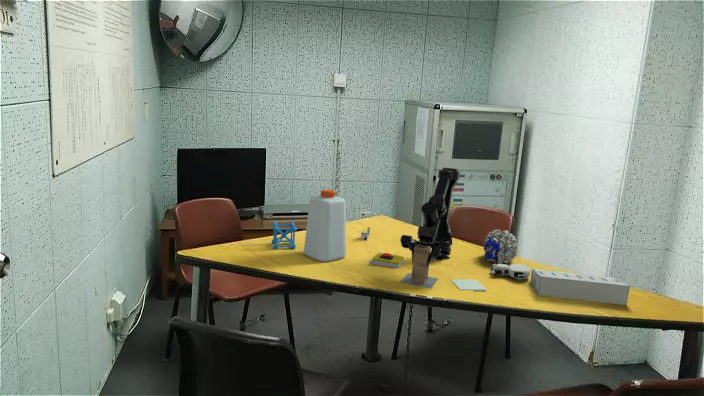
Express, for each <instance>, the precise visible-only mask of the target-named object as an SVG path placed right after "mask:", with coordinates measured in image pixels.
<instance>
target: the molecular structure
mask: <svg viewBox="0 0 704 396" xmlns="http://www.w3.org/2000/svg"><path fill="white" fill-rule="evenodd" d="M271 226H272V227H273V238H272V240H271V243H272V244H273V245H272V248H273V249H274V250H277V249H279V248H290V249H293V250H294V249H296V248H297V244H296V243H295V241H296V240H295V238H296V237H295V236H296V233H295V232H297V229H298V228H297V227H296V224H295V222H290V223H278V222H276V221H273V223H272V224H271ZM279 226H280V227H281V226H287V227H288V228H285V227H284V228H282V227H281V228H279ZM283 231H285V232H283ZM278 233H279V234H281V235H280V236H279V237H278ZM288 234H290V238H289V237H288V236H287V235H288ZM284 239H286V240H284ZM280 243H289V245H285V244H284V245H279V244H280Z"/></svg>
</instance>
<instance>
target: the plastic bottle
mask: <svg viewBox="0 0 704 396" xmlns="http://www.w3.org/2000/svg"><path fill="white" fill-rule="evenodd" d="M346 209H347V207H346V200H345V199H344V198H343V197H340V196H336V191H335V190H333V189H321V190H320V195H319V194H318V195H313V196H311V197H310V198H309V204H308V212H307V221H306V229H305V237H304V238H305V239H304V247H303V253H304V255H305V256H306V257H309V258H311V259H313V260H315V261H318V262H323V263H324V262H325V263H327V262H332V261H336V260H341V259H344V258H345V257H346V256H347V229H346V228H347V226H346V225H347V224H346V223H347V220H346Z"/></svg>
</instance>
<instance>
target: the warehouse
mask: <svg viewBox="0 0 704 396" xmlns="http://www.w3.org/2000/svg"><path fill="white" fill-rule="evenodd" d="M530 283H531V286H533V288H534V290H535V292H536V294H537V296H541V295H545V296H544V297H550V296H553V297H552V298H559V297H560V298H561V299H567V298H568V299H569V300H576V299H577V300H578V301H586V302H596V303H604V304H611V305H612V304H613V305H621V306H627V304H628V299H629V295H630V294H629V292H630V287H631V285H629V284H626V283H625V282H623V281H621V280H620V279H618V278H616V277H615V276H614V277H613V276H604V275H594V274H586V273H585V274H584V273H576V272H575V273H574V272H566V271H559V270H558V271H556V270H547V269H536V268H531V272H530Z"/></svg>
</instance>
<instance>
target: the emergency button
mask: <svg viewBox="0 0 704 396" xmlns="http://www.w3.org/2000/svg"><path fill="white" fill-rule="evenodd" d="M404 261H405V258H404V256H401V255H395V254H391V253H388V252H384V253H383V252H377V254H375V255H374V256H373V257H372V259H371V260H370V261H368V265H371V266H377V265H378V266H382V267H389V268H394V269H399V268H401V267H402V265H403V264H404Z"/></svg>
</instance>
